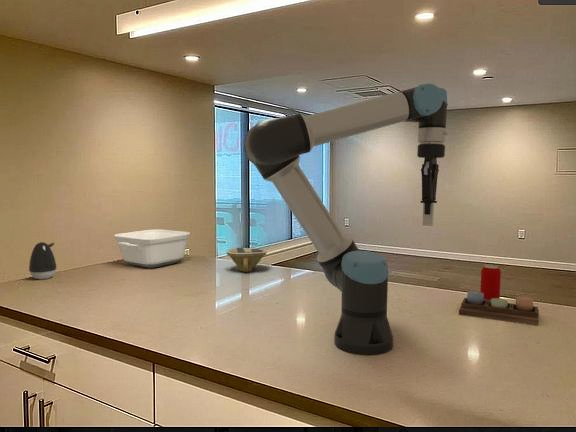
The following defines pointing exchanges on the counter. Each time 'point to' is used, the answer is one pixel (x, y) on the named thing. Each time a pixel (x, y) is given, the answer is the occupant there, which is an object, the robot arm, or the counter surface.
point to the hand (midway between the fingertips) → (427, 225)
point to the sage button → (499, 303)
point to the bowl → (246, 257)
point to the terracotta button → (524, 303)
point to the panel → (499, 312)
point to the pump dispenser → (42, 261)
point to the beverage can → (490, 282)
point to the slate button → (475, 297)
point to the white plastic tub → (152, 247)
